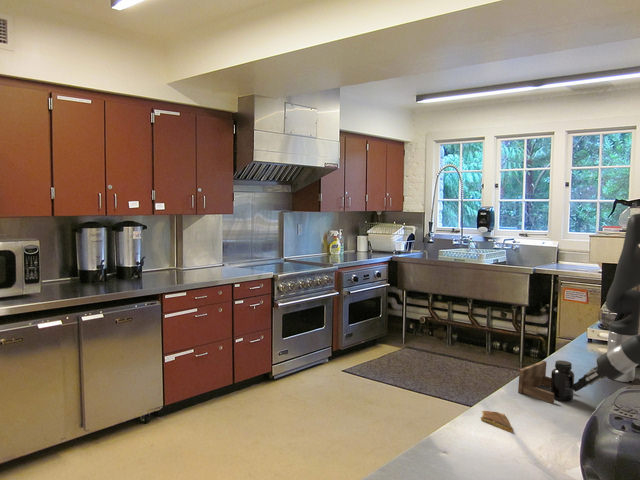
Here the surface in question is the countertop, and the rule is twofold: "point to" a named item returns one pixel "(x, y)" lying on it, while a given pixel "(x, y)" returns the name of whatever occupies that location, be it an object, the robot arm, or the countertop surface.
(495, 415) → the shard
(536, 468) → the countertop surface
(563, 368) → the supplement bottle
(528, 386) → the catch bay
